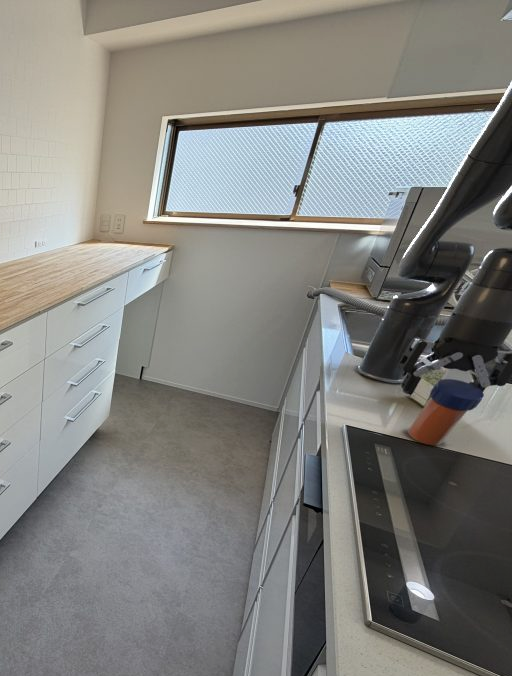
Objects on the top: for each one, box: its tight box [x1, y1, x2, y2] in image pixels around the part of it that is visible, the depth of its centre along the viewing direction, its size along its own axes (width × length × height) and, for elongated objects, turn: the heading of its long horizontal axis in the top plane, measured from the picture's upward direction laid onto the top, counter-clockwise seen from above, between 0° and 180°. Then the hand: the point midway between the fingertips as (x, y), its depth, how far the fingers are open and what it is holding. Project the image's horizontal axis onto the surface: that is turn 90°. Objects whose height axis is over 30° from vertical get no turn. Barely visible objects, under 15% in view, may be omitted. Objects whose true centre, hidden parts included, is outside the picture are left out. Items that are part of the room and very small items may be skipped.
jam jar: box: [407, 398, 468, 446], centre depth 76 cm, size 5×5×11 cm
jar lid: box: [430, 379, 485, 412], centre depth 73 cm, size 6×6×3 cm
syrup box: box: [408, 360, 473, 408], centre depth 89 cm, size 6×6×14 cm
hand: (435, 397), depth 77 cm, fingers open, 8 cm apart
